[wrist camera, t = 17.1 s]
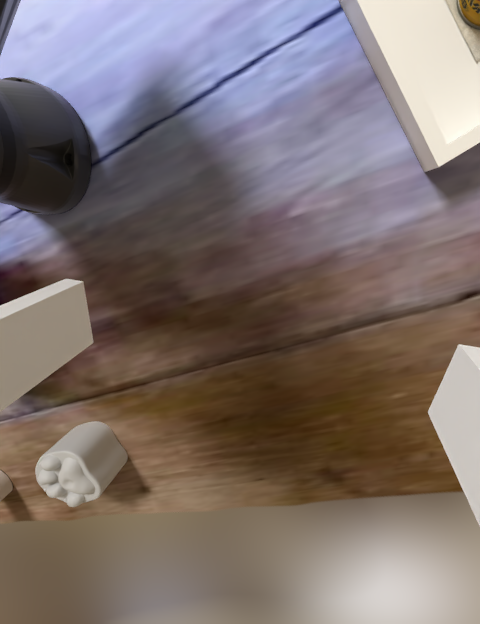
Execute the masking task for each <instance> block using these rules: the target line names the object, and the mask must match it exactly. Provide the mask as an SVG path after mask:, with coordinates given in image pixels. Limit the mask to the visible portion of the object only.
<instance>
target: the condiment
mask: <svg viewBox="0 0 480 624" xmlns="http://www.w3.org/2000/svg"><path fill="white" fill-rule="evenodd" d="M446 2H447V4H448V6H449V8H450V10H451V13H452V15H453V17H454V19H455V21H456V22H457V24H458V27H459V28H460V30H461V33H462V34H463V36H464V38H465V40H466V42H467V43H468V45H469V47H470V49H471V51H472V53H473V55H474V57H475V60H476V61H477V60H478V59H479V58H480V0H446Z"/></svg>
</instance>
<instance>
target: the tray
mask: <svg viewBox="0 0 480 624" xmlns="http://www.w3.org/2000/svg"><path fill="white" fill-rule="evenodd" d="M339 2H340V4H341V6H342V8H343V10H344V12H345V14H346V16H347V18H348V20H349V22H350V24H351V26H352V28H353V30H354V32H355V34H356V36H357V38H358V40H359V42H360V44H361V46H362V48H363V50H364V52H365V54H366V56H367V58H368V60H369V62H370V64H371V66H372V68H373V70H374V72H375V74H376V76H377V78H378V80H379V82H380V84H381V86H382V88H383V90H384V92H385V94H386V96H387V98H388V100H389V102H390V104H391V106H392V108H393V110H394V112H395V114H396V116H397V118H398V120H399V122H400V124H401V126H402V128H403V130H404V132H405V134H406V136H407V138H408V140H409V142H410V145H411V147H412V149H413V151H414V153H415V155H416V157H417V159H418V161H419V163H420V165H421V167H422V169H423V171H424V172H427V171H429V170H432V169H435V168H438V167H440V166H441V165H443V164H445V163H446V162H448V161H450V160H451V159H453V158H455V157H456V156H458V155H460V154H461V153H463V152H465V151H466V150H468V149H470V148H471V147H473V146H475V145H476V144H478V143H480V58H479V59H478V60H477V61H476V60H475V57H474V55H473V53H472V51H471V49H470V47H469V45H468V43H467V42H466V40H465V38H464V36H463V34H462V33H461V30H460V28H459V27H458V24H457V22H456V21H455V19H454V17H453V15H452V13H451V10H450V8H449V6H448V4H447V2H446V0H339Z"/></svg>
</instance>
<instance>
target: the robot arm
mask: <svg viewBox="0 0 480 624" xmlns="http://www.w3.org/2000/svg"><path fill="white" fill-rule="evenodd" d="M20 1H21V0H0V55H1V52H2V49H3V46H4V44H5V41H6V38H7V36H8V33H9V30H10V27H11V25H12V22H13V19H14V17H15V14H16V11H17V9H18V6H19V3H20ZM90 173H91V153H90V146H89V142H88V138H87V135H86V132H85V129H84V127H83V125H82V122H81V121H80V119H79V117H78V115H77V114H76V112H75V111H74V109H73V108H72V107H71V105H70V104H69V103H68V102H67V101H66V100H65V99H64V98H63V97H62V96H61V95H60V94H58V93H57V92H55V91H54V90H52V89H50V88H48V87H46V86H43V85H41V84H39V83H37V82H34V81H32V80H28V79H24V78H16V77H11V78H5V79H0V202H1V203H4V204H8V205H13V206H15V207H17V208H19V209H21V210H23V211H26V212H29V213H34V214H60V213H64V212H66V211H68V210H70V209H72V208H73V207H74V206H75V205H77V203H78V202H79V201H80V200H81V199H82V197H83V195H84V193H85V191H86V189H87V186H88V183H89V179H90ZM92 343H93V337H92V331H91V325H90V319H89V313H88V307H87V301H86V295H85V289H84V283H83V281H77V280H71V279H64V280H62V281H59V282H57V283H54V284H52V285H49V286H47V287H45V288H42V289H40V290H37V291H35V292H32V293H30V294H28V295H25V296H23V297H20V298H18V299H15V300H13V301H11V302H8V303H6V304H3V305H1V306H0V412H1V411H2V410H3V409H5V408H6V407H7V406H9V405H10V404H11V403H13V402H14V401H15V400H17V399H18V398H20V397H21V396H22V395H24V394H25V393H26V392H28V391H29V390H30V389H32V388H33V387H34V386H36V385H37V384H38V383H40V382H41V381H42V380H44V379H45V378H46V377H48V376H49V375H50V374H52V373H53V372H54V371H56V370H57V369H59V368H60V367H61V366H63V365H64V364H65V363H67V362H68V361H69V360H71V359H72V358H73V357H75V356H76V355H77V354H79V353H80V352H81V351H83V350H84V349H85V348H87V347H88V346H89V345H91V344H92ZM428 414H429V416H430V418H431V421H432V423H433V425H434V427H435V429H436V432H437V434H438V436H439V438H440V440H441V443H442V445H443V447H444V449H445V451H446V454H447V456H448V458H449V460H450V462H451V465H452V467H453V469H454V471H455V473H456V476H457V478H458V480H459V482H460V485H461V487H462V489H463V491H464V493H465V496H466V498H467V500H468V502H469V504H470V506H471V509H472V511H473V513H474V515H475V517H476V520H477V522H478V524H479V526H480V348H478V347H472V346H466V345H460V344H459V345H458V347H457V349H456V351H455V354H454V356H453V358H452V360H451V362H450V364H449V367H448V369H447V371H446V373H445V375H444V378H443V380H442V382H441V384H440V386H439V389H438V391H437V393H436V395H435V397H434V400H433V402H432V404H431V406H430V408H429V411H428Z"/></svg>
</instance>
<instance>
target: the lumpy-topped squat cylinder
mask: <svg viewBox="0 0 480 624" xmlns="http://www.w3.org/2000/svg"><path fill="white" fill-rule="evenodd" d="M127 459H128V455H127V453H126V451H125V449H124V448H123V447H122V446H121V444H120V443H119V442H118V440H117V438H116V436H115V434H114V432H113V431H112V429H111V428H110V427H109V426H108V425H106V424H104V423H102V422H89V423H84V424H81V425H79V426H76V427H75V428H73V429H72V430H71V431H70V432H69V433H67V434H66V435H65V436H64V437H63V438H62V439H61V440H59V441H58V442H57V443H56V444H55V445H54V446H53V447H52V448H50V449H49V450H48V451H47V452H46V453H45V454H43V455H42V456H41V458H40V459H39V461H38V463H37V465H36V479H37V481H38V483H39V485H40V486H41V487H42V488H43V489H44V491H46V493H47V495H48V496H49V497H51V498H57V499H59V500H62V501H64V502H67V504H68V505H69V506H70V507H76V506H79V505H80V504H82V503H84V502H88V501H92V500H95V499H97V498H98V497H99V496H100V495H101V494H102V493H103V491H104V490H105V489H106V488H107V486H108V485H109V484H110V482H111V481H112V480H113V479H114V477H115V476H116V475H117V473H118V472H119V471H120V470H121V468H122V467H123V466H124V465H125V463H126V462H127Z"/></svg>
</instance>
